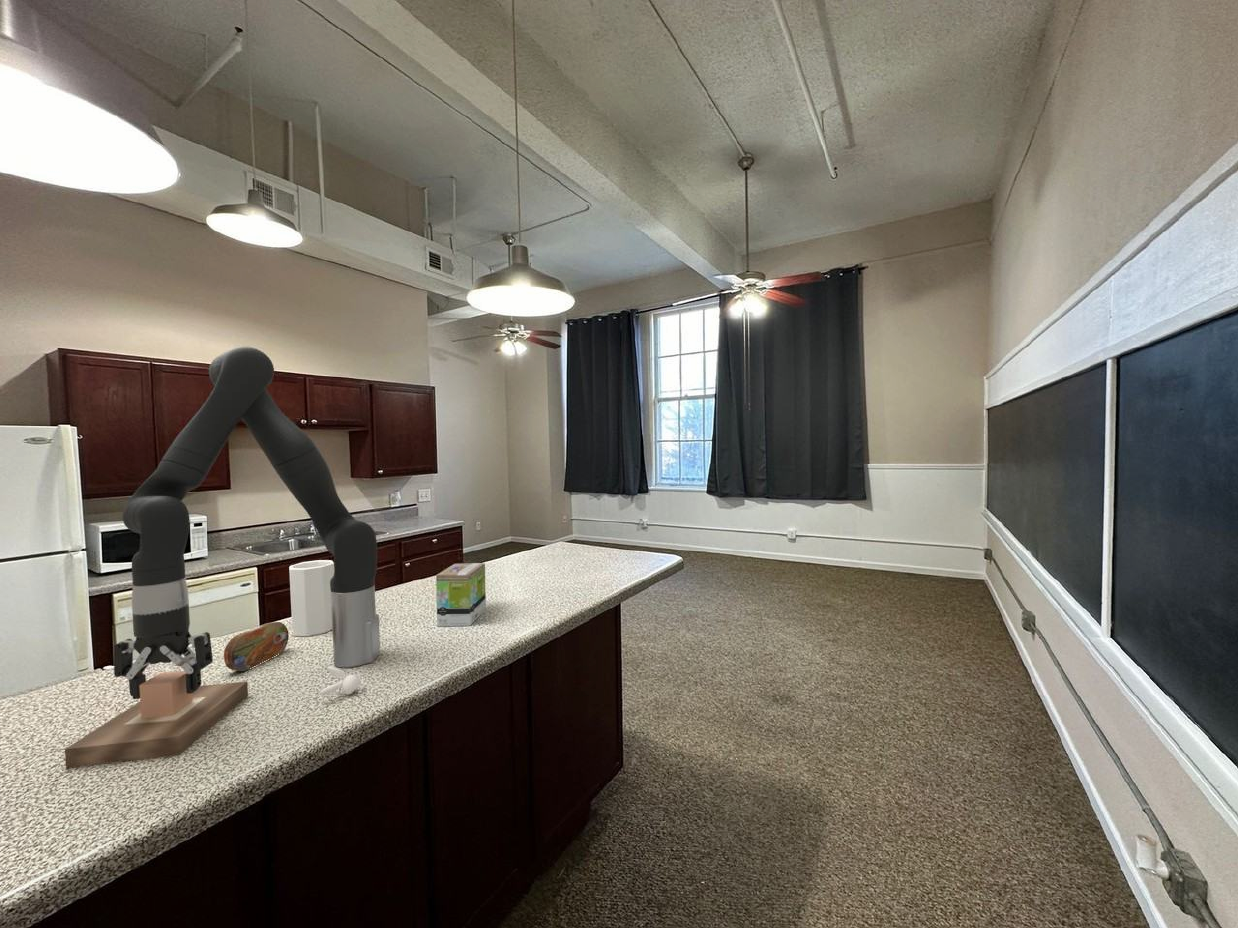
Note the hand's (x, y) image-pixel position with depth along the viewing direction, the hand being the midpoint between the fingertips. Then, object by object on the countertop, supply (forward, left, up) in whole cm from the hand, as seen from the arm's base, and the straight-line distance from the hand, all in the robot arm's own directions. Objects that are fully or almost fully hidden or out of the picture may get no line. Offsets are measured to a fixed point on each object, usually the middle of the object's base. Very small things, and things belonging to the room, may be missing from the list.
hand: (166, 694), depth 91 cm
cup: (-5, -49, -6) cm, 50 cm away
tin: (-1, -28, -6) cm, 29 cm away
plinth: (0, 0, -6) cm, 6 cm away
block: (0, 0, -3) cm, 3 cm away
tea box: (-45, -49, -6) cm, 67 cm away
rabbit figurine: (-27, -6, -6) cm, 28 cm away
